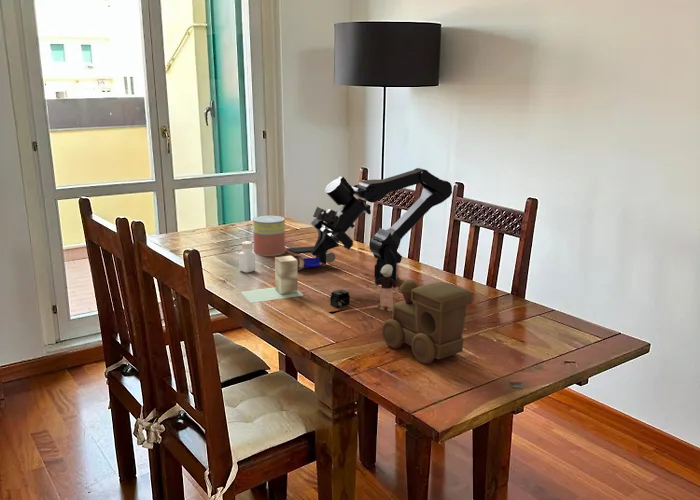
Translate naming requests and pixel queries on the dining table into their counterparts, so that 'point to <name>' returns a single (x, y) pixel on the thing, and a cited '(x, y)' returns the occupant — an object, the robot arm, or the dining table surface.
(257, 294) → the mat
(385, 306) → the grandmother figurine
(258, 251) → the canned food
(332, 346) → the dining table surface
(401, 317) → the wooden toy train
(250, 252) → the pepper shaker
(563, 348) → the dining table surface
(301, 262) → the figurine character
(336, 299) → the black boxy device
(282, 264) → the maple block
